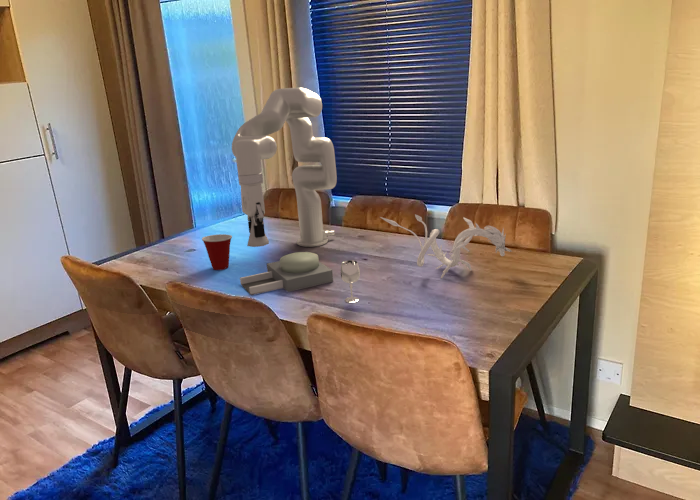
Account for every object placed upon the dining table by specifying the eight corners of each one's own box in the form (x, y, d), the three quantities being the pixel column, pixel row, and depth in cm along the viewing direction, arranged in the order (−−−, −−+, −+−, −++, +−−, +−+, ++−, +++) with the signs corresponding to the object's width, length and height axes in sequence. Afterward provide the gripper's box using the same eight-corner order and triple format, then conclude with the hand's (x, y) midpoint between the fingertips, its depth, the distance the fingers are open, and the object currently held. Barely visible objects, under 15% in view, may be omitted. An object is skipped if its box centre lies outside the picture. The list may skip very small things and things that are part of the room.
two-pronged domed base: (309, 265, 209) (308, 246, 207) (333, 281, 192) (331, 261, 190) (237, 281, 198) (234, 261, 196) (254, 299, 181) (252, 278, 179)
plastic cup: (241, 263, 216) (237, 232, 213) (226, 273, 207) (222, 241, 203) (216, 262, 220) (211, 231, 216) (200, 271, 210) (195, 240, 207)
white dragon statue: (367, 271, 195) (370, 205, 182) (390, 244, 211) (394, 181, 197) (494, 307, 179) (507, 237, 166) (509, 275, 195) (522, 209, 182)
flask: (272, 241, 190) (269, 211, 187) (265, 247, 183) (261, 217, 180) (251, 241, 192) (248, 211, 189) (243, 247, 185) (239, 217, 182)
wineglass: (341, 297, 178) (339, 260, 175) (360, 295, 179) (358, 258, 175) (343, 304, 173) (340, 266, 169) (362, 302, 173) (360, 264, 169)
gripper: (231, 177, 187) (238, 231, 192) (247, 184, 172) (253, 243, 178) (254, 174, 190) (260, 227, 196) (271, 181, 175) (277, 238, 181)
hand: (257, 234), depth 187 cm, fingers closed on flask, 5 cm apart
